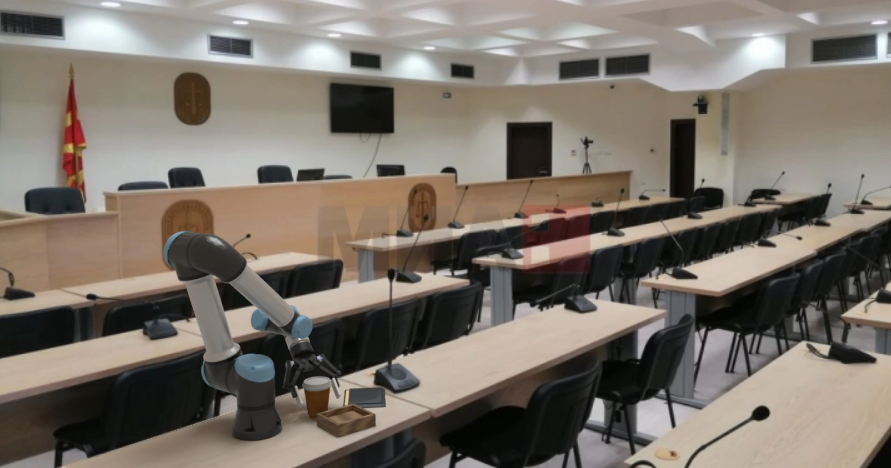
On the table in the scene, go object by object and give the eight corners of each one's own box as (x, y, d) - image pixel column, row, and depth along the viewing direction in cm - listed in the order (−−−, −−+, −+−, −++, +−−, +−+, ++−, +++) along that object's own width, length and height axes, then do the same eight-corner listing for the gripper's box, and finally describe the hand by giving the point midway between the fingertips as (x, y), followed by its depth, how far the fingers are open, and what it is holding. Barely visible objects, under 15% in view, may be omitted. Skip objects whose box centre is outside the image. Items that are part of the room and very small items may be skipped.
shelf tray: (337, 437, 221) (337, 425, 220) (316, 425, 230) (316, 413, 230) (375, 425, 230) (375, 414, 229) (353, 414, 239) (353, 403, 239)
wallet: (385, 403, 246) (340, 405, 244) (385, 409, 246) (340, 410, 245) (386, 384, 265) (344, 386, 264) (386, 389, 266) (344, 391, 265)
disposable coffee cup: (326, 421, 233) (325, 386, 232) (298, 420, 235) (297, 384, 234) (336, 411, 242) (335, 376, 241) (309, 409, 244) (308, 375, 243)
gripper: (329, 346, 257) (350, 398, 246) (262, 358, 242) (281, 414, 232) (335, 334, 252) (357, 387, 241) (267, 346, 237) (287, 403, 227)
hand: (320, 401), depth 237 cm, fingers open, 13 cm apart
